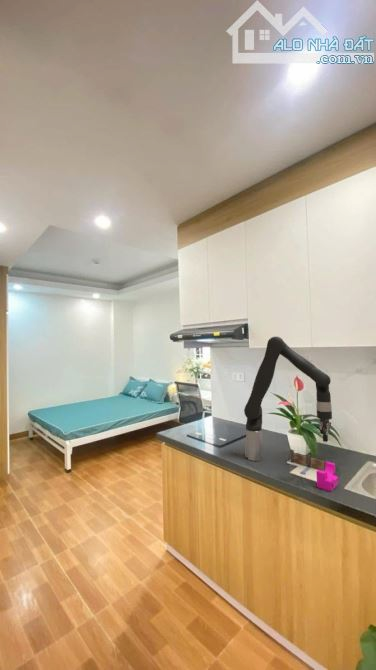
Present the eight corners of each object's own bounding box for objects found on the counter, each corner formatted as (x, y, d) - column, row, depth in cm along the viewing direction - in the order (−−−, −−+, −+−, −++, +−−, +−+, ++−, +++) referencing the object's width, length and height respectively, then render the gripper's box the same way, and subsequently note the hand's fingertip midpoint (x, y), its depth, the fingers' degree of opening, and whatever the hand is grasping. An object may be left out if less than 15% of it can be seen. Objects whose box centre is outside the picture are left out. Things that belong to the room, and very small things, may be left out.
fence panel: (310, 467, 150) (310, 456, 150) (312, 466, 152) (311, 455, 152) (327, 472, 144) (327, 461, 144) (329, 471, 145) (328, 460, 145)
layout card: (277, 469, 151) (277, 468, 151) (290, 459, 162) (290, 459, 162) (320, 483, 135) (320, 482, 135) (331, 471, 146) (331, 470, 146)
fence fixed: (290, 461, 159) (289, 450, 159) (291, 460, 160) (291, 449, 160) (309, 467, 151) (309, 455, 151) (311, 466, 152) (310, 454, 152)
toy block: (331, 492, 127) (330, 475, 127) (317, 487, 131) (316, 471, 132) (341, 480, 138) (340, 465, 138) (327, 476, 142) (327, 461, 142)
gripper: (321, 406, 159) (322, 436, 159) (312, 410, 150) (313, 442, 150) (335, 408, 154) (336, 439, 153) (326, 412, 145) (328, 446, 144)
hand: (325, 441), depth 152 cm, fingers closed
